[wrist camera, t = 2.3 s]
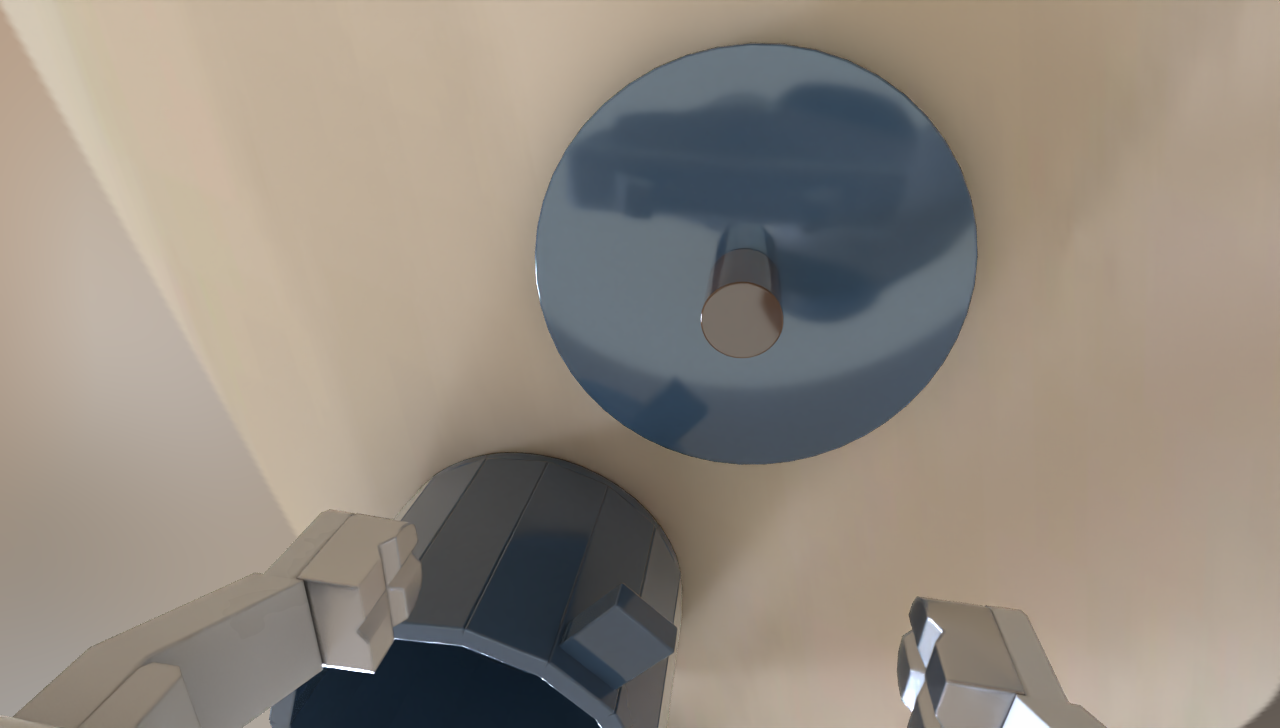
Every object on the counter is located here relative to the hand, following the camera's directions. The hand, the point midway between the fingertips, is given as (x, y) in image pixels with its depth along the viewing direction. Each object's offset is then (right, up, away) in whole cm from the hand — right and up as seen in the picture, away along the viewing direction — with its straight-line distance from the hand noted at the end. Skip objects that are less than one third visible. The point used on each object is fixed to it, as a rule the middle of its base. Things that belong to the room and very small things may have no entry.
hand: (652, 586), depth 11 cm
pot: (-5, -6, +20) cm, 22 cm away
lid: (+3, +7, +12) cm, 14 cm away
